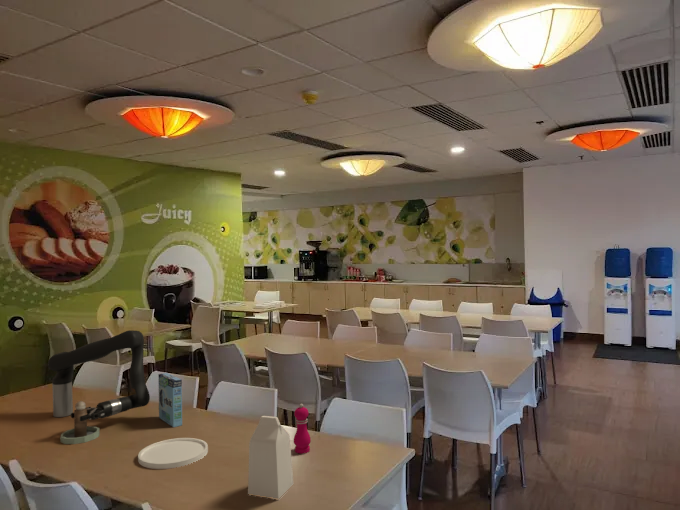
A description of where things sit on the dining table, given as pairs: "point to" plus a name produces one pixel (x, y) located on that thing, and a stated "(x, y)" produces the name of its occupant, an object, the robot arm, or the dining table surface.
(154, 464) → the plate
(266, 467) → the milk
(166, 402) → the light blue cardboard box
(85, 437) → the round tray
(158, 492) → the dining table surface
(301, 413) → the pepper mill
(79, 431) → the wooden peg figure
